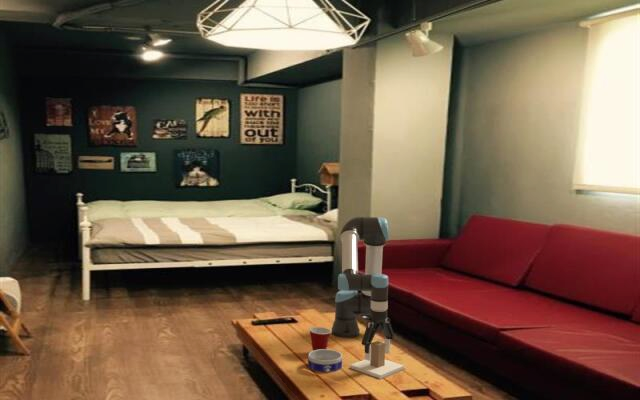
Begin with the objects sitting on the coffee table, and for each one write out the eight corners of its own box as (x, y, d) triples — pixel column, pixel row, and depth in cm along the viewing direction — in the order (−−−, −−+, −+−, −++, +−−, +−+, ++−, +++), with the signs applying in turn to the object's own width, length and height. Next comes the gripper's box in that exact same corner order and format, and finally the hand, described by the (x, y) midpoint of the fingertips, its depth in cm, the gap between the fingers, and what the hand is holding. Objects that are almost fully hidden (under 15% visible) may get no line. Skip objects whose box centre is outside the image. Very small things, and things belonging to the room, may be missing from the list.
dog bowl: (316, 376, 250) (316, 362, 249) (302, 364, 264) (303, 351, 263) (347, 371, 256) (348, 358, 256) (333, 360, 270) (333, 347, 270)
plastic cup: (334, 356, 274) (334, 331, 273) (312, 358, 271) (312, 333, 270) (326, 349, 284) (327, 325, 283) (305, 351, 281) (306, 326, 280)
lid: (374, 359, 270) (375, 334, 269) (404, 368, 258) (404, 343, 257) (350, 368, 258) (351, 342, 257) (380, 378, 246) (381, 352, 245)
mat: (374, 359, 271) (374, 358, 271) (405, 370, 258) (405, 368, 258) (348, 369, 258) (348, 368, 258) (380, 380, 245) (380, 379, 245)
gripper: (389, 303, 268) (388, 348, 269) (354, 312, 250) (352, 360, 251) (402, 306, 262) (401, 352, 264) (367, 316, 245) (366, 365, 246)
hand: (377, 356), depth 258 cm, fingers open, 13 cm apart
